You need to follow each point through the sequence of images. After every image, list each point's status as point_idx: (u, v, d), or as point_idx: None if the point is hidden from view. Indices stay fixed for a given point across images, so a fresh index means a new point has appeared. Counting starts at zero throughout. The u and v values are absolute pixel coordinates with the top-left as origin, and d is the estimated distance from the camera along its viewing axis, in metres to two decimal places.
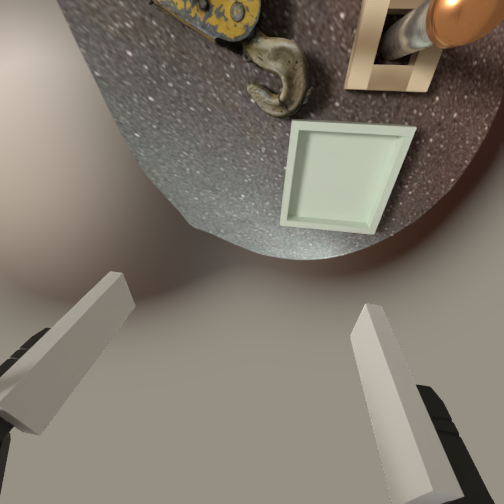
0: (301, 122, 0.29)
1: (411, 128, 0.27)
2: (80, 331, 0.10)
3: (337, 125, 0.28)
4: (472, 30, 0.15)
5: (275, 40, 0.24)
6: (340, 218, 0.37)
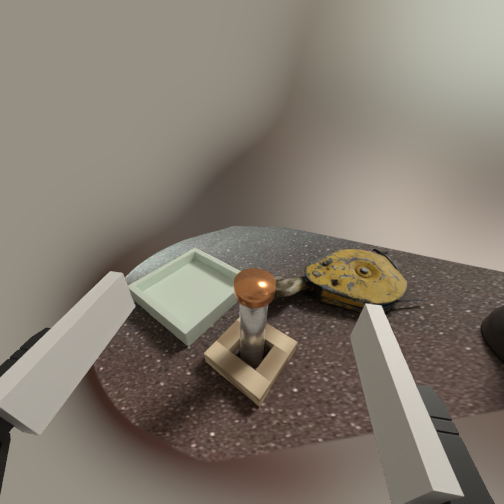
0: None
1: (187, 330, 0.31)
2: (80, 332, 0.10)
3: (229, 294, 0.37)
4: (240, 277, 0.24)
5: (297, 285, 0.38)
6: (160, 282, 0.42)
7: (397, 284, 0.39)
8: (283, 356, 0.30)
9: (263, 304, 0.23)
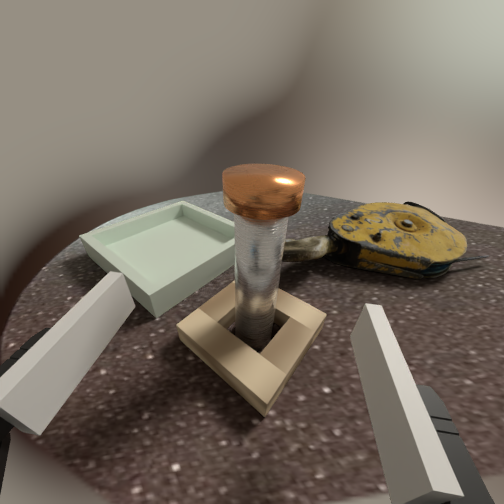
0: None
1: (154, 291, 0.20)
2: (80, 331, 0.10)
3: (223, 248, 0.26)
4: (237, 170, 0.13)
5: (324, 244, 0.26)
6: (131, 237, 0.31)
7: (455, 237, 0.29)
8: (306, 333, 0.18)
9: (280, 211, 0.11)
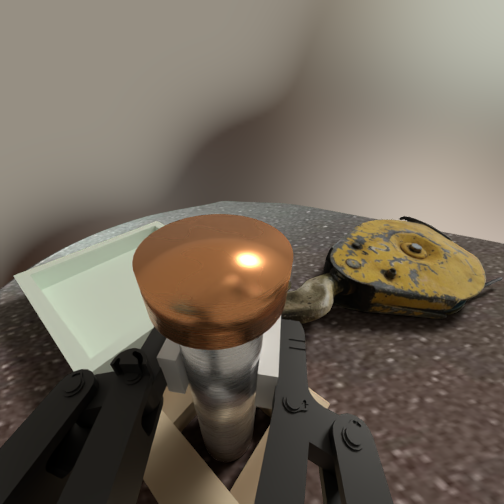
0: None
1: None
2: None
3: None
4: (170, 235, 0.07)
5: (331, 291, 0.20)
6: (88, 271, 0.25)
7: (470, 262, 0.25)
8: None
9: (242, 335, 0.06)
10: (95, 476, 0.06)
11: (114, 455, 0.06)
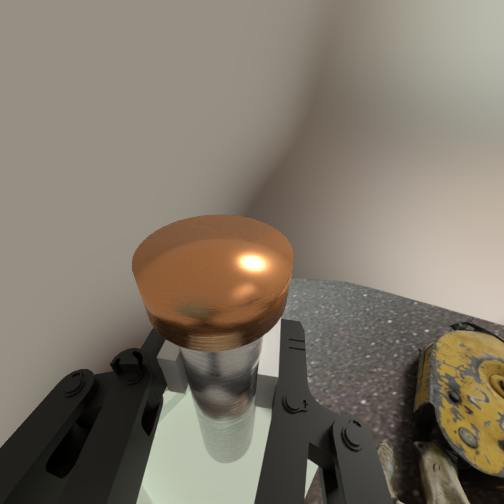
0: None
1: None
2: None
3: None
4: (170, 236, 0.07)
5: (466, 497, 0.18)
6: (168, 417, 0.23)
7: None
8: None
9: (243, 336, 0.06)
10: (95, 476, 0.06)
11: (114, 455, 0.06)
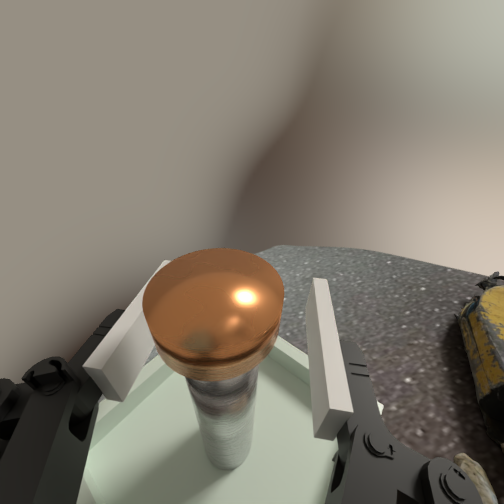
0: None
1: None
2: None
3: None
4: (175, 273, 0.08)
5: None
6: (146, 402, 0.17)
7: None
8: None
9: (239, 368, 0.06)
10: (14, 490, 0.06)
11: (36, 464, 0.06)
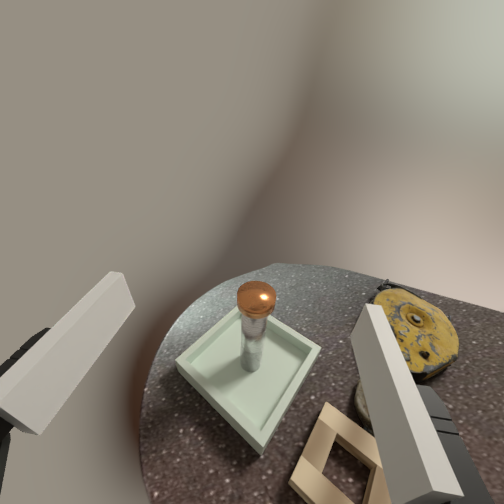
0: (317, 353, 0.33)
1: (265, 441, 0.24)
2: (80, 331, 0.10)
3: (302, 376, 0.30)
4: (244, 289, 0.26)
5: None
6: (210, 347, 0.35)
7: (442, 317, 0.39)
8: None
9: (264, 315, 0.25)
10: None
11: None
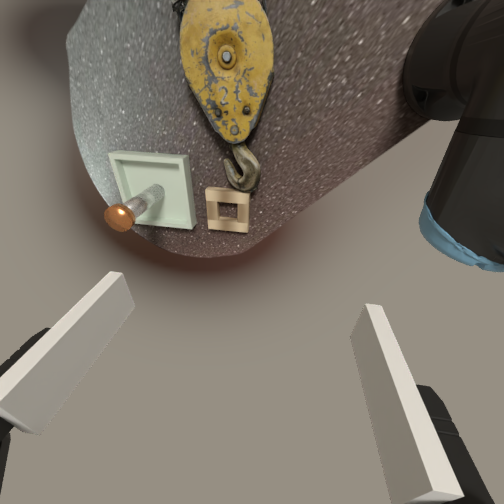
0: (183, 165, 0.43)
1: (191, 227, 0.50)
2: (80, 332, 0.10)
3: (185, 188, 0.45)
4: (109, 221, 0.38)
5: (248, 154, 0.39)
6: None
7: (249, 10, 0.29)
8: (246, 206, 0.47)
9: (134, 223, 0.39)
10: None
11: None
